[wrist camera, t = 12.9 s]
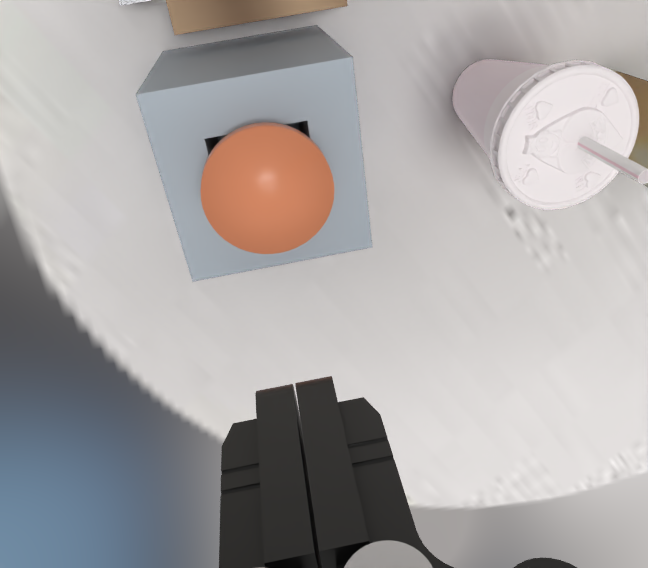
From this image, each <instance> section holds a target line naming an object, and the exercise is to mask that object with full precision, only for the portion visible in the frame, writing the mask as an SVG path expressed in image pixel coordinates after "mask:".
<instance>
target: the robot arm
mask: <svg viewBox="0 0 648 568" xmlns="http://www.w3.org/2000/svg"><path fill="white" fill-rule="evenodd" d="M296 391H297V398H298V405H299V410H298V405H297V400H296V396H295V391H294V387H293V384H290V385H285V386H280V387H275V388H270V389H265V390H260V391H256V413H257V419H253V420H248V421H243V422H238V423H233V425H232V427H231V429H230V431H229V433H228V435H227V437H226V439H225V441H224V443H223V445H222V462H221V471H222V475H221V504H220V505H221V507H220V550H219V568H454V567H451V566H449V565H447V564H445V563H443V562H442V561H440V560H439V559H437V558H436V557H435V556H434V555H432V553H430V552H429V551H428V549H427V548H426V547H425V546H424V545H423V543H422V541H421V540H420V538H419V536H418V533H417V531H416V528H415V525H414V521H413V518H412V515H411V512H410V509H409V505H408V502H407V499H406V496H405V493H404V489H403V486H402V483H401V480H400V477H399V473H398V470H397V467H396V464H395V461H394V459H393V454H392V451H391V448H390V445H389V441H388V439H387V435H386V432H385V429H384V425H383V422H382V419H381V416H380V414H379V413H378V412H377V411H376V410H375V409H374V408H373V407H372V406H371V405H370V404H369V403H368V402H367V400H366V399H365V398H364V397H363V398H358V399H353V400H348V401H343V402H337V397H336V393H335V388H334V384H333V380H332V376H330V377H325V378H320V379H314V380H309V381H304V382H299V383H296ZM299 412H300V414H299ZM514 568H577V567H575V566H573V565H571V564H569V563H566V562H564V561H561V560H557V559H552V558H533V559H530V560H526V561H524V562H522V563H520V564H518V565H517V566H515V567H514Z"/></svg>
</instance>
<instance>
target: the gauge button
mask: <svg viewBox="0 0 648 568" xmlns="http://www.w3.org/2000/svg"><path fill="white" fill-rule="evenodd" d="M200 192H201V202H202V207H203V210H204V213H205V215H206V217H207V219H208V221H209V223H210V224H211V226H212V227H213V229H214V230H215V231H216V232H217V233H218V234H219V235H220V236H221V237H222V238H223V239H224V240H225V241H227V242H229V243H230V244H232V245H233V246H235V247H237V248H239V249H242V250H245V251H248V252H252V253H258V254H276V253H282V252H286V251H289V250H292V249H295V248H297V247H299V246H301V245H303V244H304V243H306V242H307V241H309V240H310V239H311V238H312V237H313V236H315V235H316V234H317V233H318V231H319V230H320V229H321V228H322V227H323V225H324V224H325V222H326V220H327V218H328V217H329V215H330V212H331V209H332V206H333V201H334V181H333V176H332V173H331V170H330V167H329V165H328V163H327V160H326V158H325V157H324V155H323V153H322V151H321V150H320V148H319V147H318V146H317V145H316V144H315V143H314V141H313V140H312V139H310V138H309V137H308V136H307V135H305V134H304V133H302V132H301V131H299V130H297V129H295V128H293V127H290V126H287V125H286V124H285V125H284V124H279V123H273V122H261V123H253V124H249V125H245V126H243V127H240V128H238V129H236V130H234V131H232V132H231V133H229V134H228V135H226V136H225V137H224V138H222V139H221V140H220V141H219V142H218V143H217V144H216V146H215V147H214V148H213V150H212V151H211V152H210V154H209V156H208V158H207V160H206V163H205V165H204V169H203V173H202V179H201V190H200Z"/></svg>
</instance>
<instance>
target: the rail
mask: <svg viewBox="0 0 648 568" xmlns="http://www.w3.org/2000/svg"><path fill="white" fill-rule="evenodd" d="M145 1H151V0H119V4H120V5H127V4H133V3H139V2H145Z"/></svg>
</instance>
